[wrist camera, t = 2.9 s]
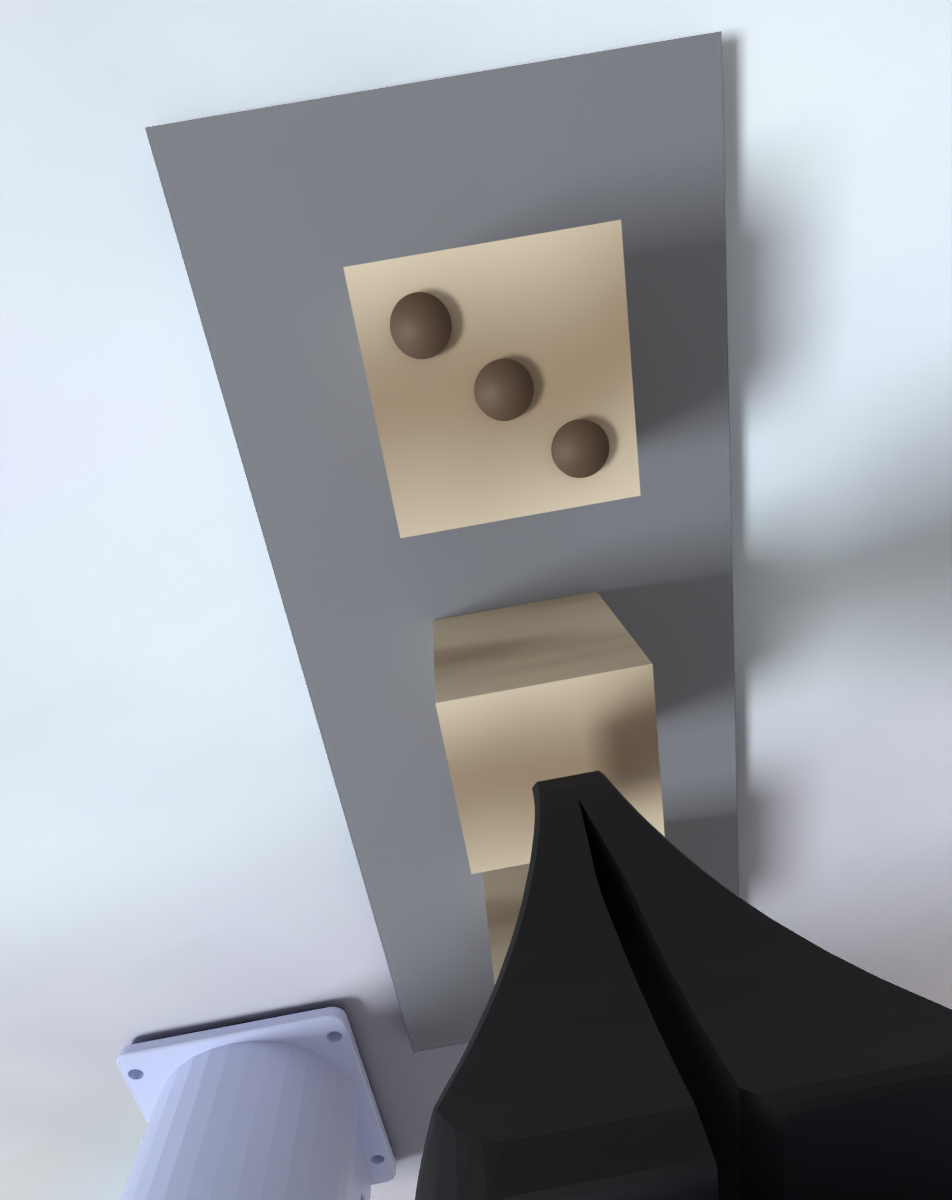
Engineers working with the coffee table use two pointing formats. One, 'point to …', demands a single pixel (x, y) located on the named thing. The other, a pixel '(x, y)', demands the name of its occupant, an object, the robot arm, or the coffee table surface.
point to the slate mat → (496, 549)
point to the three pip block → (500, 376)
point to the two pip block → (503, 908)
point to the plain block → (541, 715)
